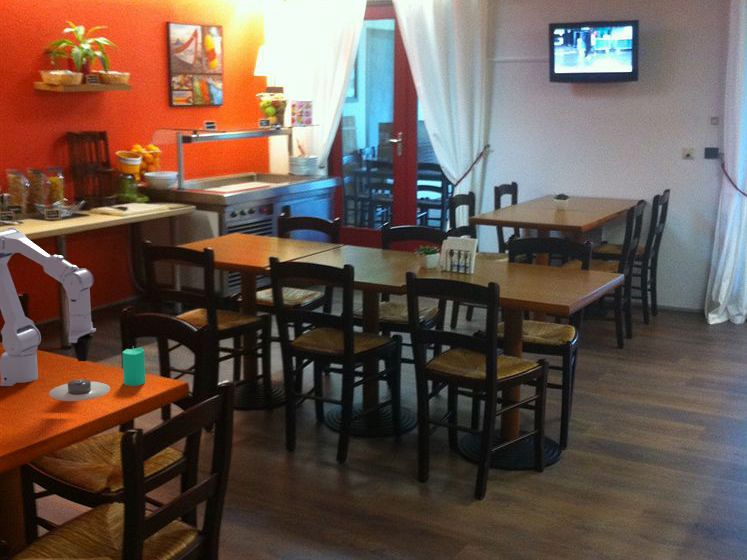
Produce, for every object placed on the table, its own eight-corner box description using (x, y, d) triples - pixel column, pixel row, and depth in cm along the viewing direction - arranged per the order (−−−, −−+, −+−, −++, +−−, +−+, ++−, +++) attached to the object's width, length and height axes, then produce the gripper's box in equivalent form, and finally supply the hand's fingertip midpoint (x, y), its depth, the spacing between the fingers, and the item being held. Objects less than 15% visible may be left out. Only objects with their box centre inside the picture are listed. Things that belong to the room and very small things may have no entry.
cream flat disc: (40, 404, 239) (40, 400, 239) (61, 385, 255) (60, 381, 255) (100, 405, 240) (100, 401, 239) (117, 385, 255) (117, 381, 255)
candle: (148, 383, 258) (147, 343, 255) (141, 390, 252) (139, 349, 249) (128, 382, 258) (126, 342, 256) (120, 389, 253) (118, 348, 250)
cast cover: (65, 394, 244) (64, 384, 243) (72, 387, 250) (71, 377, 249) (87, 395, 244) (86, 384, 243) (93, 387, 250) (93, 377, 249)
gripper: (86, 320, 240) (88, 368, 243) (102, 307, 254) (104, 353, 257) (59, 319, 240) (62, 368, 243) (77, 306, 254) (80, 352, 257)
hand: (82, 360), depth 250 cm, fingers closed
